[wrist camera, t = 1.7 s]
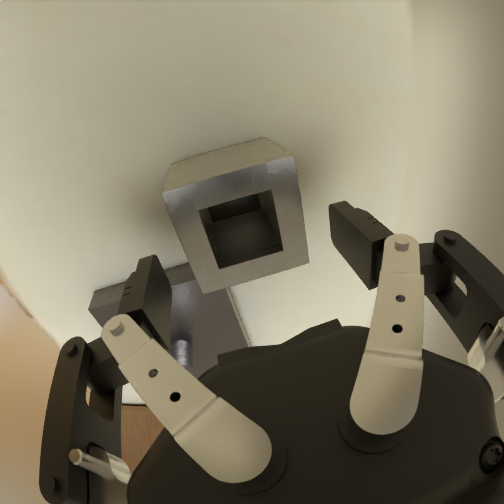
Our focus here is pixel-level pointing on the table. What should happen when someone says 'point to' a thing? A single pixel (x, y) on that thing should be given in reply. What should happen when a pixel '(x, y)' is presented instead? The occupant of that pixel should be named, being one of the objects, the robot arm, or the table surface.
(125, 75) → the table surface
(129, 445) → the wooden block
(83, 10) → the table surface
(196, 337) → the shaft block
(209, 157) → the collar
